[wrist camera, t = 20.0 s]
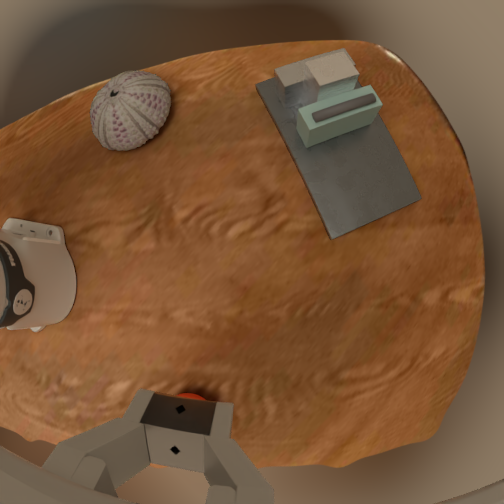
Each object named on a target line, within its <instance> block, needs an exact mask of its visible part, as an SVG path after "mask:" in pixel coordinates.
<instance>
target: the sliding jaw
mask: <svg viewBox="0 0 504 504" xmlns="http://www.w3.org/2000/svg"><path fill="white" fill-rule="evenodd" d="M382 105H383V104H382V102H381V101H380V99H379V97H378V96H377V94H376V93H375V91H374V90H373V88H372V86H371V85H369V86H365V87H362V88H358V89H355V90H352V91H349V92H346V93H343V94H339V95H336V96H333V97H330V98H327V99H324V100H322V101H319V102H316V103H313V104H310V105H307V106H305V107H302V108H299V109H298V115H297V127H296V129H297V131H298V133H299V135H300V137H301V139H302V141H303V143H304V145H305V147H306V148H308V147H311V146H313V145H316V144H318V143H321V142H323V141H326V140H329V139H331V138H334V137H337V136H339V135H342V134H345V133H347V132H350V131H353V130H356V129H358V128H361V127H364V126H367V125H370V124H371V123H372V122H373V120H374V118H375V117H376V115H377V113H378V112H379V110H380V109H381V107H382Z"/></svg>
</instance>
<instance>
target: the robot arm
mask: <svg viewBox="0 0 504 504" xmlns="http://www.w3.org/2000/svg"><path fill="white" fill-rule="evenodd" d="M51 232H52V235H51ZM75 294H76V274H75V269H74V265H73V262H72V259H71V257H70V255H69V253H68V251H67V249H66V246H65V239H64V233H63V230H62V228H61V227H59V226H54V225H49V224H44V223H38V222H33V221H27V220H22V219H16V218H8V219H7V221H6V222H5V223H4V225H3V227H2V229H0V329H1V328H5V327H7V329H9V330H16V329H26V328H30V329H31V330H32V331H34V332H39V331H41V330H42V329H43V328H45V326H47V325H49V324H55V323H58V322H60V321H62V320H63V319H64V318H65V317H66V316H67V315H68V313H69V312H70V310H71V308H72V306H73V303H74V299H75ZM233 407H234V404H233V403H227V402H214V401H206V400H199V399H192V398H186V397H181V396H176V395H171V394H166V393H161V392H155V391H151V390H146V389H142V388H141V389H139V390H138V391H137V393H136V395H135V396H134V398H133V400H132V402H131V403H130V405H129V407H128V409H127V410H126V412H125V414H124V416H123V418H122V419H121V418H116V419H113V420H111V421H109V422H107V423H104V424H102V425H100V426H98V427H95V428H93V429H91V430H88V431H86V432H84V433H81V434H79V435H76V436H74V437H72V438H69V439H67V440H64V441H62V442H59V443H58V445H57V446H56V447H55V449H54V450H53V452H52V453H51V455H50V456H49V458H48V459H47V460H46V462H45V463H44V464H43V466H42V467H39V466H37V465H35V464H33V463H31V462H29V461H27V460H25V459H23V458H21V457H20V456H18V455H16V454H14V453H12V452H11V451H9V450H7V449H5V448H4V447H2V446H0V504H138V503H134V502H130V501H127V500H124V499H120V498H118V496H117V493H116V491H115V489H116V488H118V487H119V486H120V485H122V484H123V483H125V482H126V481H128V480H129V479H130V478H132V477H133V476H135V475H136V474H137V473H139V472H140V471H142V470H143V469H144V468H146V467H147V466H148V465H150V463H154V464H159V465H164V466H169V467H176V468H180V469H185V470H190V471H195V472H201V473H204V475H205V477H206V479H207V481H208V483H209V485H210V487H209V489H208V494H207V499H206V504H274V489H273V488H272V486H271V485H270V484H269V483H268V482H267V480H266V479H265V478H264V477H263V476H262V474H261V473H260V472H259V471H258V469H257V468H256V467H255V466H254V464H253V463H252V462H251V461H250V459H249V458H248V457H247V456H246V454H245V453H244V452H243V450H242V449H241V448H240V446H239V445H238V444H237V442H236V441H235V440H234V439H231V429H232V418H233ZM434 504H504V479H502V480H499V481H497V482H495V483H492V484H490V485H487V486H485V487H482V488H480V489H477V490H475V491H472V492H469V493H466V494H464V495H461V496H457V497H454V498H451V499H448V500H445V501H442V502H438V503H434Z"/></svg>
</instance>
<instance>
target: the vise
mask: <svg viewBox="0 0 504 504" xmlns="http://www.w3.org/2000/svg"><path fill="white" fill-rule="evenodd" d="M343 51H344V53H345V54H346V55H347V57H348V58H349V60H350V61H351V62H352V64H353V65H354V67H355V66H356V64H355V63H354V61H353V60H352V58H351V57H350V56H349V54H348V53H347V51H346V50H345V49H344V48H343V49H339V50H335V51H331V52H328V53H324V54H321V55H317V56H314V57H310V58H307V59H304V60H301V61H298V62H294V63H291V64H288V65H285V66H282V67H279V68H277V69H274V74H275V77H274V78H271V79H268V80H266V81H263V82H260V83H258V84H255V85H256V90H257V92H258V94H259V95H260V97H261V99H262V101H263V103H264V105H265V107H266V108H267V110H268V112H269V114H270V116H271V118H272V120H273V122H274V123H275V125H276V127H277V129H278V131H279V133H280V135H281V137H282V139H283V141H284V143H285V145H286V147H287V149H288V151H289V153H290V155H291V157H292V159H293V161H294V163H295V165H296V167H297V169H298V171H299V173H300V175H301V177H302V179H303V181H304V184H305V186H306V188H307V190H308V192H309V194H310V196H311V198H312V201H313V203H314V205H315V207H316V209H317V212H318V214H319V216H320V218H321V220H322V223H323V225H324V227H325V229H326V232H327V234H328V236H329V239H330V240H331V239H334V238H336V237H338V236H340V235H343V234H345V233H347V232H349V231H352V230H354V229H356V228H358V227H361V226H363V225H365V224H367V223H369V222H372V221H374V220H376V219H378V218H381V217H383V216H385V215H387V214H389V213H392V212H394V211H396V210H398V209H400V208H402V207H405V206H407V205H409V204H411V203H413V202H416V201H418V200H420V199H422V198H421V195H420V193H419V191H418V189H417V187H416V184H415V182H414V180H413V178H412V176H411V174H410V172H409V170H408V168H407V166H406V164H405V162H404V160H403V158H402V156H401V154H400V152H399V150H398V148H397V146H396V144H395V142H394V141H393V139H392V137H391V135H390V133H389V131H388V130H387V128H386V126H385V124H384V123H383V121H382V119H381V117H380V116H379V114H378V113H377V115H376V117H375V118H374V120H373V122H372V123H371V124H370V125H367V126H364V127H361V128H358V129H356V130H353V131H350V132H347V133H345V134H342V135H339V136H337V137H334V138H331V139H329V140H326V141H323V142H321V143H318V144H316V145H313V146H311V147H308V148H306V147H305V145H304V143H303V141H302V139H301V137H300V135H299V133H298V131H297V129H296V127H297V115H298V109H299V108H302V107H303V105H302V104H301V99H302V88H303V77H304V66H305V62H308V61H311V60H314V59H318V58H321V57H325V56H328V55H332V54H335V53H339V52H343ZM358 88H362V86H361V85H360V83H359V82H358V80H357V82H356V84H355V87H354V89H353V90H355V89H358Z"/></svg>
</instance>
